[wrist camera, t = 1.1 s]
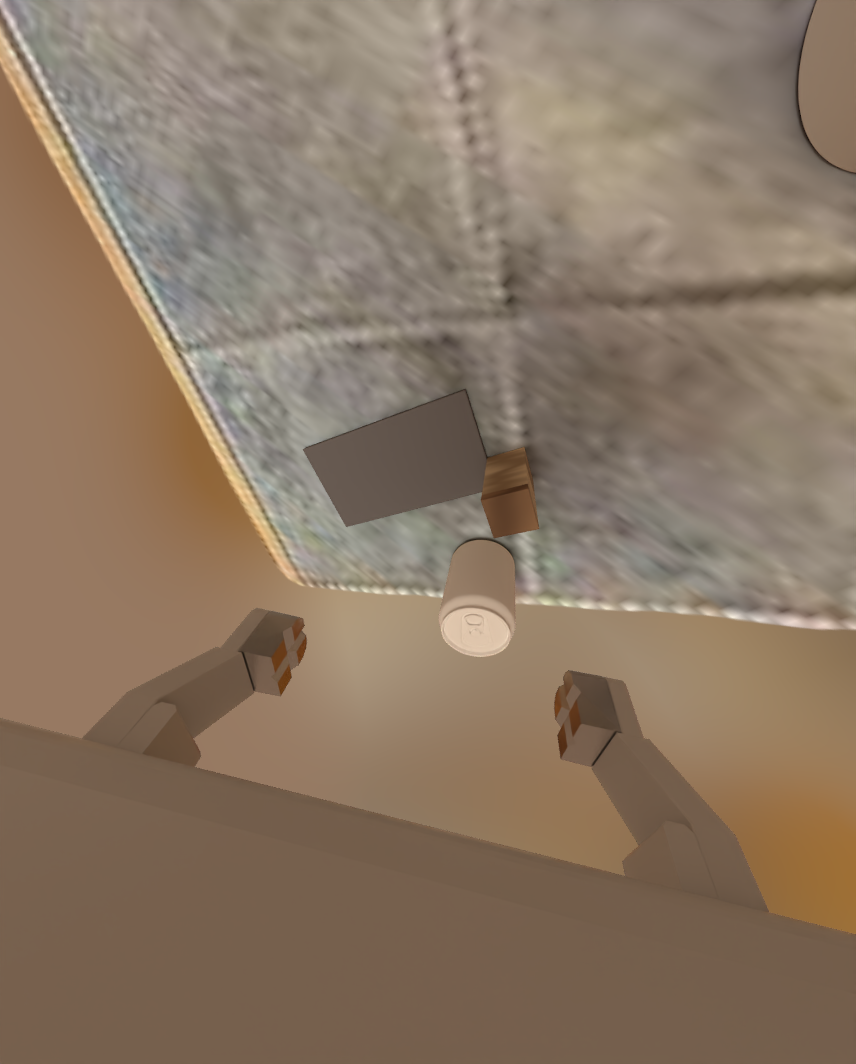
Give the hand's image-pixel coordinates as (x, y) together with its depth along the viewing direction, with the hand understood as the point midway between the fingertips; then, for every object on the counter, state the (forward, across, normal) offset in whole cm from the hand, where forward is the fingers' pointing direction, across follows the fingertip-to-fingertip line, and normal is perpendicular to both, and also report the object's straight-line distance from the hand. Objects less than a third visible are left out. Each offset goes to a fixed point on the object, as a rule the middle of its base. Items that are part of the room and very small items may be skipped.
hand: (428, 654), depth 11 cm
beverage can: (+31, -3, +19) cm, 36 cm away
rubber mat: (+31, +8, +7) cm, 33 cm away
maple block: (+30, -4, +6) cm, 31 cm away
